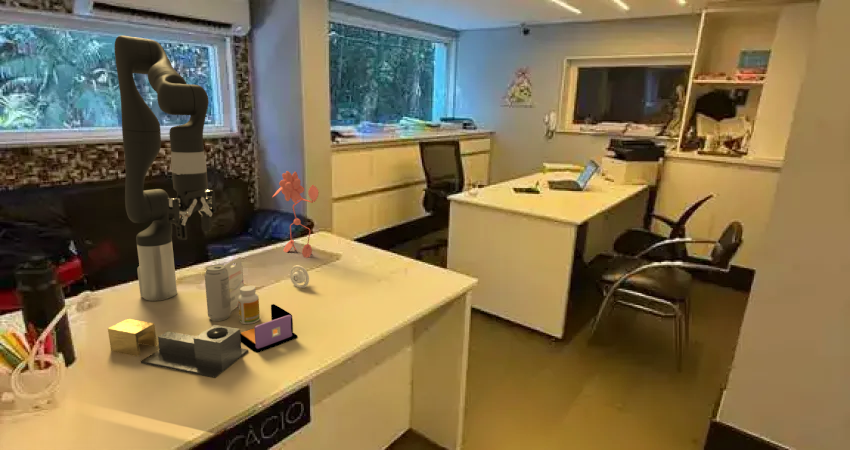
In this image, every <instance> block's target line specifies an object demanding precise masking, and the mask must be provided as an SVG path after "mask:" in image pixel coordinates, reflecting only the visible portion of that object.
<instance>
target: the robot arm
mask: <svg viewBox="0 0 850 450" xmlns="http://www.w3.org/2000/svg"><path fill="white" fill-rule="evenodd" d="M114 59H115V66H116V74H117V79H118V80H117V81H118V87H119V95H120V107H121V108H120V109H121V111H120V112H121V133H122V143H123V153H124V154H123V155H124V166H125V180H124V181H125V183H124V185H125V188H124V192H125V193H124V202H125V203H124V204H125V211H126V214H127V218H128V219H129V220H130V221H131V222H132V223H134V224H140V223H142V224H143V223H148V222H152V223H151V224H150V225H149V226H148V227H146V228H145V229H144V230H141V231H139V232H138V233H137V234H136V237H135V240H136V248H137V256H138V257H137V258H138V263H139V264H138V265H139V266H138V267H137V268H136V269H137V278H138V280H137V281H138V286H139V294H140V295H139V296H140V298H141V297H142V298H143V299H144V300H146V301H153V302H154V301H156V302H157V301H163V300H167V299H171V298H173V297H174V296H176V295H177V294H178V290H177V289H178V288H177V287H178V286H177V279H176V270H175V260H174V259H175V258H174V250H173V239H172V236H173V225H175V232H176V238H177V240H179V241H185V240H186V241H187V239H188V229H187V224H186V223H187V221H188V218H190V217H191V215H192V214H194V213H196V211H197V212H198V213H199V214H200V215H201V216H200V222H201V230H202V231H203V232H211V230H212V216H213V214H214V213H215V214H216V212H217V211H218V209H217V202H216V193H215V190H214V189H208V188H209V185H208V184H209V183H208V173H207V172H208V171H207V170H208V169H207V159H206V155H205V149H204V148H205V147H204V146H205V145H204V128H205V122H206V116H207V113H208V108H209V101H210V100H209V95H208V93H207V91H206V90H205V89H204V87H203V86H201V85H198V84H189V83H187V82H186V80H185V79H184V78H183V77H182V75H180V73H178V71H176V70H175V68H174V67H173V65H172V63H171V61H170V59H169V56H168V55H167V53H166V51H165V50H164V48H163V46H162V45H161V44H160V42H158V41H156V40H153V39H150V38H143V37H135V36H128V35H118V36H116V39H115V41H114ZM134 74H139V75H147V80H148V84H149V85H150V87H151V88H152V90H153V91H154V92H155V93H156V94H157V96H156V97H157V105H158V107H159V109H160V110H161V111H162V112H163V113H165V114H167V115H170V116H190V117H189V119H188V121H187V122H186V123H184V124H179V125H175V126H172V127H171V128H170V129H169V144H170V151H171V152H170V165H171V166H170V167H171V177H172V186H173V188H172V189H173V190H174V191H176V194H177V195H176V197H175V198H172V197H170V196H169V194H168V192H166V190H164V189H161V188H155V189H154V188H153V189H146V190H144V189H145V187H144V186H145V179H146V176H147V173H148V171H149V170H150V168H151V166H152V165H153V163H154V162H155V160H156V158H157V157H158V156H159V154H160V153H159V152H160V150H161V147H162V135H161V134H162V132H161V123H160V121H159V119H158V118H157V115H156V114H155V113H154V112H153V111H152V109H151V108H150V106H149V105H148V104H147V102H146V101H145V100H144V98H143V96H142V95H141V94H140V92H139V89H138V88H137V87H138V86H137V85H136V81H135V79H134ZM210 205H211V206H210Z"/></svg>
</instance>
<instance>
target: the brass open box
mask: <svg viewBox="0 0 850 450" xmlns="http://www.w3.org/2000/svg"><path fill="white" fill-rule="evenodd" d="M107 332H108V338H109V346H110V352H114V353H119V354H124V355H129V356H134V357H140V356H141V349H140V345H146V346H151V347H156V346H158V340H157V333H156V325H155V323H154V322H149V321H143V320H137V319H133V318H132V319H131V318H127V319H125V320H122V321H120V322H118V323H116V324H114V325H112V326H110V327H108V328H107Z"/></svg>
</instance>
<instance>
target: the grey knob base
mask: <svg viewBox="0 0 850 450" xmlns="http://www.w3.org/2000/svg"><path fill="white" fill-rule="evenodd" d="M240 333H241V328H238V327H237V328H235V327H231V326H226V325H225V326H224V325H218V324H213V325H212V326H210V327H209V328H207V329H206V330H204V331H202V332H201V333H199V334H198V335H190V334H185V333H179V332H173V331H169V330H166V332H163V333H162V334H160V335H158V336H157V344H158V348H159V349H158V350H156V351H154V352H153V353H150V354H149V355H148V356H145V357H144V358H143V359H141V360H140V364H144V365H147V366H148V365H149V366H153V367H158V368H164V369H169V370H173V371H178V372H184V373H189V374H193V375H197V376H198V375H199V376H203V377H209V378H214V379H216V378H217V377H218V376H220V375H221V374H222V373H224V372H225V371H226V370H227V369H228V368H230V367H231V366H232V365H233V364H235V363H236V362H237V361H238V360H240V359H241V358H243V356H245V355H246V354H248V353H249V348H242V342H241V337H240Z"/></svg>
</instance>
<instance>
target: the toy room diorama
mask: <svg viewBox="0 0 850 450" xmlns="http://www.w3.org/2000/svg"><path fill="white" fill-rule="evenodd" d="M270 313H271V315H270V316H271V318H270V319H271V320H269V321H266V322H263V323H259V324H257V325H255V326H254V327H253V328H250V329H248V330H245V331H241V332H240V337H241V344H243V345H244V346H246V347H247V349H250V350H251V351H253V352H254V353H262V352H264V351H267V350H270V349H273V348H275V347H278V346H280V345H283V344H286V343H288V342H291V341H294V340H296V339H298V335H297V334H296V333H294V325H293V324H294V323H293V321H294V319H293V314H292V313H291V312H289V311H287V310H285V309H283V308H282V307H279V305H276V304H274V303H272V304H270Z"/></svg>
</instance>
